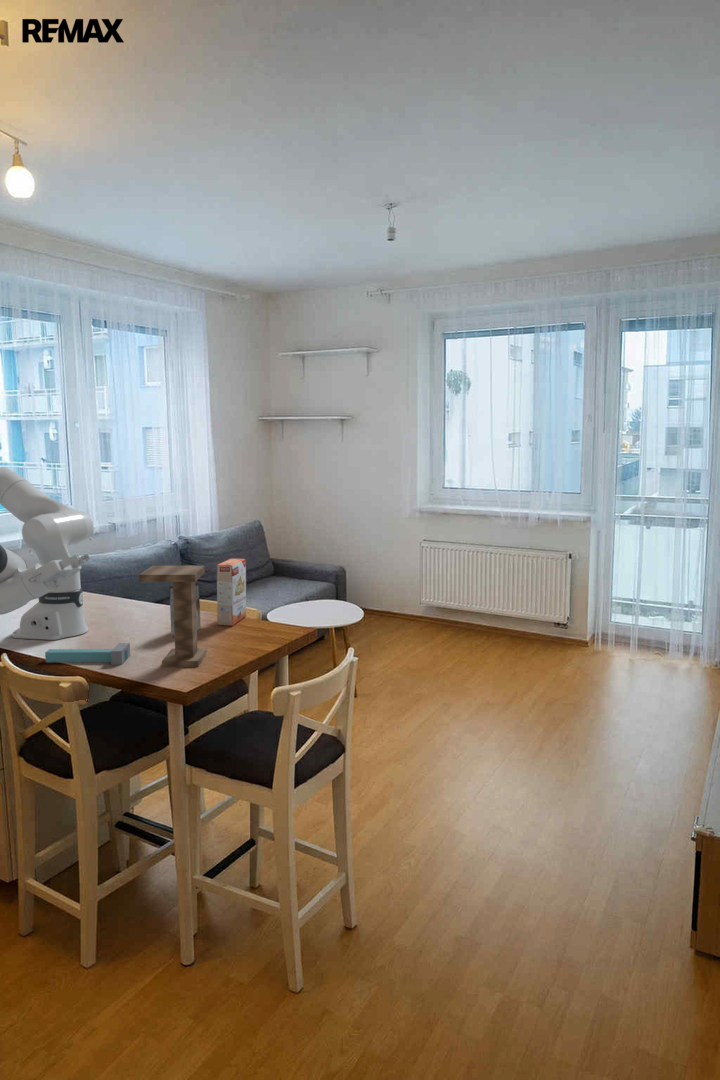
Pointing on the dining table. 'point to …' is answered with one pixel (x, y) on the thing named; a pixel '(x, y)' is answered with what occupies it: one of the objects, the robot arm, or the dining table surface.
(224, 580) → the cracker box
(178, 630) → the stand
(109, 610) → the dining table surface
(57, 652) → the hammer
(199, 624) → the coffee box
